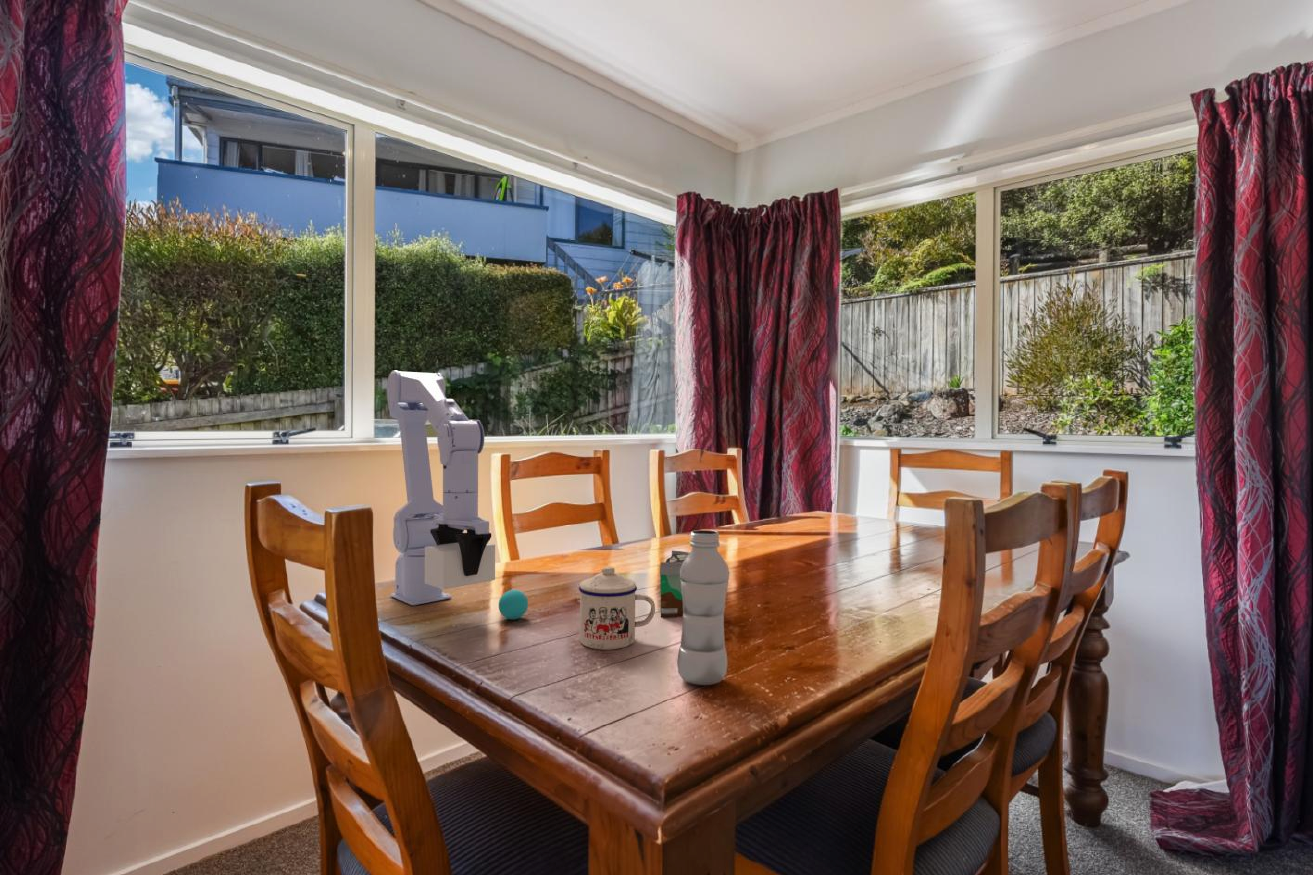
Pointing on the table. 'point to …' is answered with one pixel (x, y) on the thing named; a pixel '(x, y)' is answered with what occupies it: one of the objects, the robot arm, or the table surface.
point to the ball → (513, 604)
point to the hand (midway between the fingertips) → (460, 571)
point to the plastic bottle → (703, 611)
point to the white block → (455, 566)
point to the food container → (672, 585)
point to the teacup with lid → (609, 611)
